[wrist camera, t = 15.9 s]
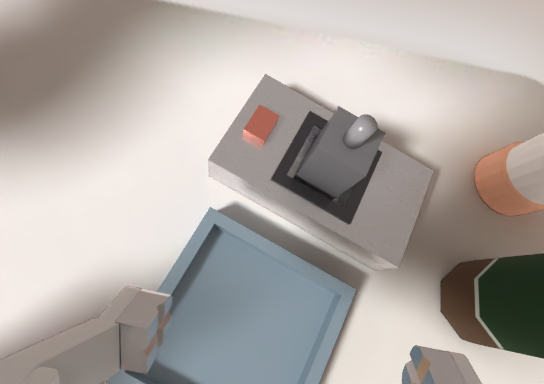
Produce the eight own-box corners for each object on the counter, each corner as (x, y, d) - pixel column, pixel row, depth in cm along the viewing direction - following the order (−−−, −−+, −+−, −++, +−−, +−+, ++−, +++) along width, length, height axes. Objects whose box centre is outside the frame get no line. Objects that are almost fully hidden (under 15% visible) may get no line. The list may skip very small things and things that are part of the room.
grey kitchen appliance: (208, 175, 29) (207, 155, 25) (259, 98, 33) (266, 68, 28) (375, 270, 30) (404, 267, 25) (408, 183, 33) (440, 167, 29)
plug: (290, 183, 30) (328, 132, 20) (308, 150, 31) (352, 86, 21) (326, 204, 30) (383, 163, 20) (343, 170, 31) (403, 116, 21)
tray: (112, 370, 24) (102, 379, 21) (210, 213, 28) (210, 207, 26) (274, 459, 24) (281, 478, 22) (344, 289, 29) (356, 289, 26)
